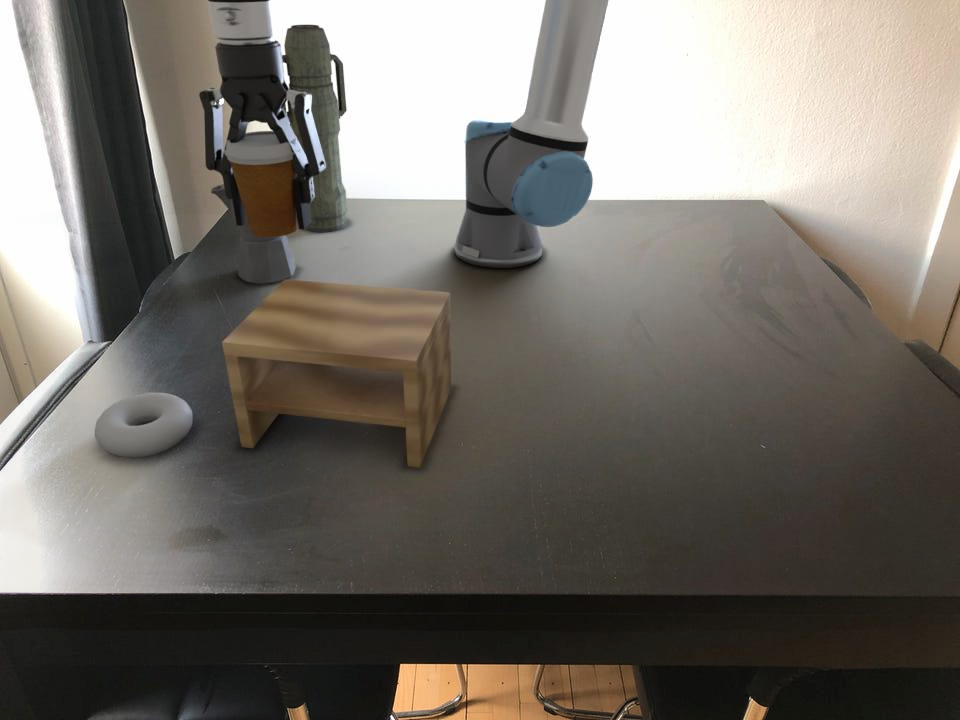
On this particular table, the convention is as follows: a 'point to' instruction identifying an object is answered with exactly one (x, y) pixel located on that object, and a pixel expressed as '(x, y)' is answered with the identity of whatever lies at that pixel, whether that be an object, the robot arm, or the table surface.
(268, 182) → the disposable coffee cup
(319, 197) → the thermos
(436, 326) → the shelf
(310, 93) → the robot arm
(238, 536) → the table surface
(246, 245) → the coffeepot
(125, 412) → the donut
